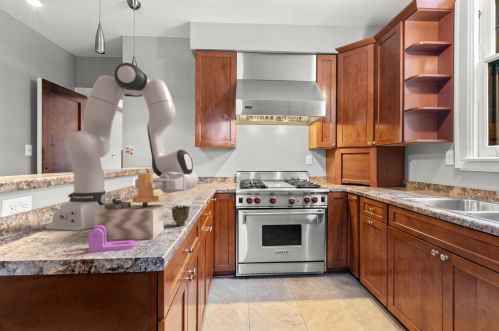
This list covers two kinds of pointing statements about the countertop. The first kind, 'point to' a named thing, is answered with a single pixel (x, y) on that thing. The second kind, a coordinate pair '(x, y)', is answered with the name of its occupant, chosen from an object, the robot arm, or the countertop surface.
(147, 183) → the orange gear
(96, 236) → the bracket
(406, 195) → the countertop surface
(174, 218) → the cup
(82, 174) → the robot arm
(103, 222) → the gearbox
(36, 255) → the countertop surface
